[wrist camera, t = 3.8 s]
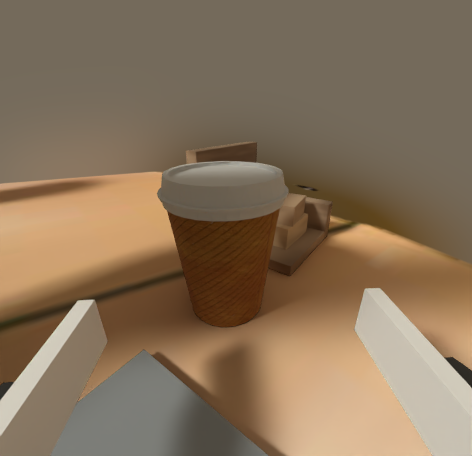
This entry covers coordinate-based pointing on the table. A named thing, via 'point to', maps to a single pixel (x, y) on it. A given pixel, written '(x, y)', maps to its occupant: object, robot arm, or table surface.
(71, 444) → the slate mat
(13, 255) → the table surface
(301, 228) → the offcut stack
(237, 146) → the offcut rack
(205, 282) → the disposable coffee cup
